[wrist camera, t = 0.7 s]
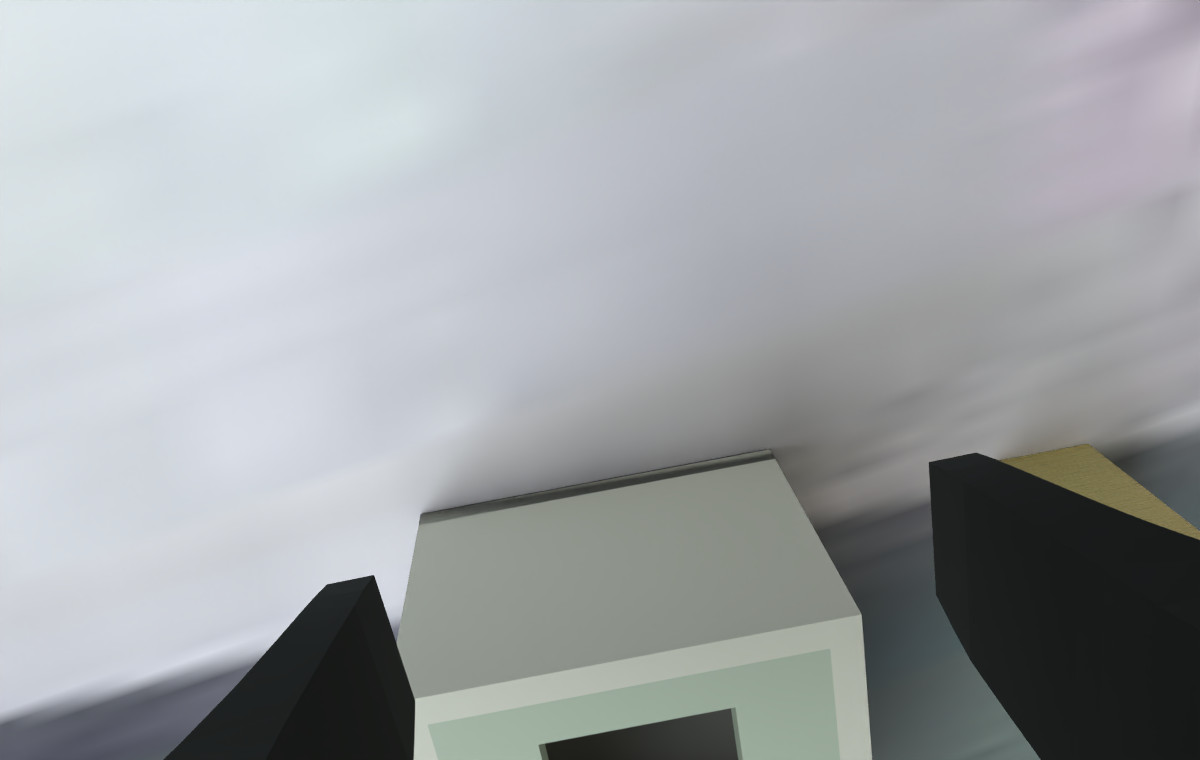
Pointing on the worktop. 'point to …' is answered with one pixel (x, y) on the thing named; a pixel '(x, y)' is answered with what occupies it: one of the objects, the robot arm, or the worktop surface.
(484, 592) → the box
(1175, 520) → the block
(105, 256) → the worktop surface
